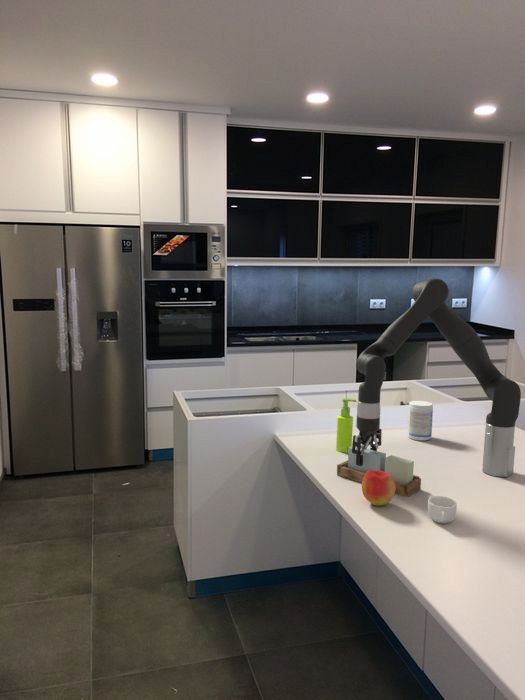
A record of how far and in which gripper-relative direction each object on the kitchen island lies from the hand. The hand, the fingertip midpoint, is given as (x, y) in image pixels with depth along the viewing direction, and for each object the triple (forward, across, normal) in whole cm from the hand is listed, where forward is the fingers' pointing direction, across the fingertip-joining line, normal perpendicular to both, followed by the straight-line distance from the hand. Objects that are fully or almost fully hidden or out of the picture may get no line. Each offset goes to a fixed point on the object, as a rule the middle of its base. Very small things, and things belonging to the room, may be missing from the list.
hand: (366, 462), depth 188 cm
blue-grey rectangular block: (+5, 0, 0) cm, 5 cm away
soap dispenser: (+6, +20, +22) cm, 30 cm away
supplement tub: (+6, +55, +8) cm, 56 cm away
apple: (+6, -15, -14) cm, 21 cm away
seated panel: (+5, 0, -12) cm, 13 cm away
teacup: (+6, -13, -32) cm, 35 cm away
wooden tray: (+6, 0, -4) cm, 7 cm away
